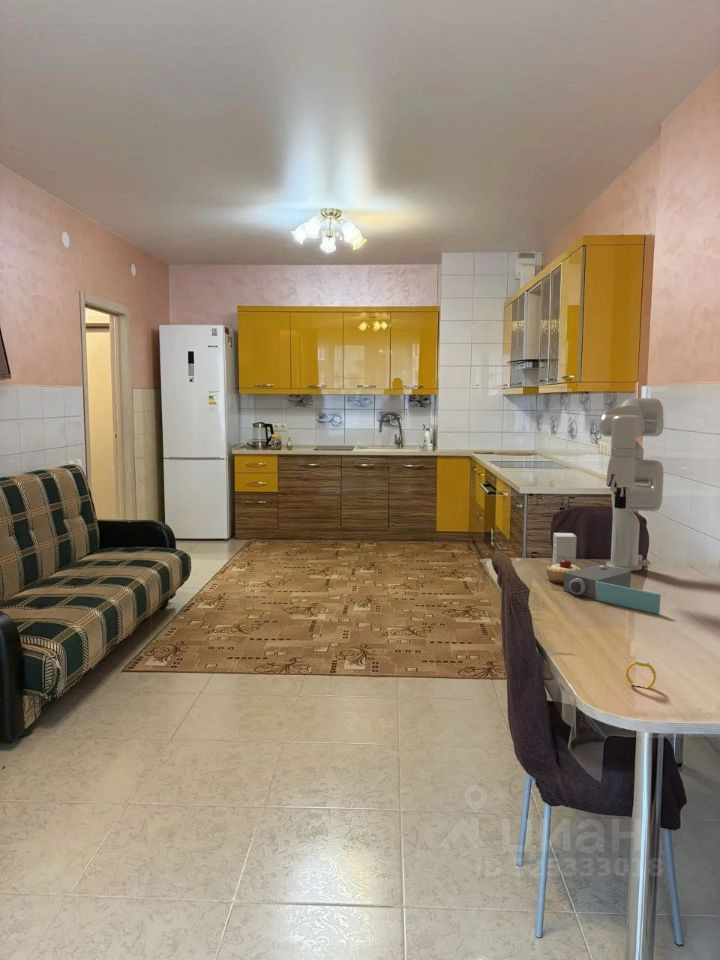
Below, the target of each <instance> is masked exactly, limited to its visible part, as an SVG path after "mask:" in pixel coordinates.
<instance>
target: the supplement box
mask: <svg viewBox="0 0 720 960" xmlns="http://www.w3.org/2000/svg"><path fill="white" fill-rule="evenodd" d="M552 536H553V538H552V539H553V541H552V544H553V545H552V565H553V564H558V563H559V562H560V561H565V559H566V560H569V561H570V562H571V565H575V566H577V564H576V561H577V539H578V537H577V535H576V534H574V533H572V532H553V535H552ZM559 556H563V557H564V558H565V559H564V558H563V557H559ZM558 557H559V558H558Z"/></svg>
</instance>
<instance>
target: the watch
mask: <svg viewBox="0 0 720 960" xmlns="http://www.w3.org/2000/svg"><path fill="white" fill-rule="evenodd" d="M636 665H637V666H640V667H647V668H648V669H649V670H650V671H651V672H652V674H653V675H652V676H653V679H652V681H651V682H650V683H648V684H647V685H648V686H649V688H651V687H653V686H654V684H655V683H656V680H657V675H656V674H657V673H656V670H655V669H654V667H653V665H651V664H650V661H648V660H647V659H643V658H636V659H635V660H634V661H633V662H630V663H629V665H628V666H627V668H626V672H625V673H626V674H625V677H626V679H627V681H628V683H629V684H630V683H633V682H634V681H633V680H632V679H631V677H630V675H629V672H630V671H629V670H630V669H631V668H632V667H633V666H636Z"/></svg>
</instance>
